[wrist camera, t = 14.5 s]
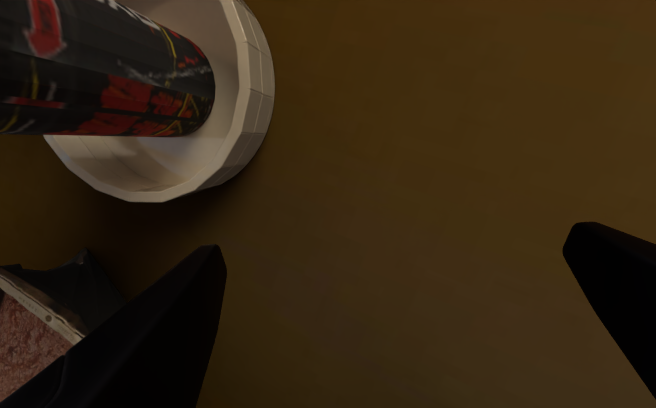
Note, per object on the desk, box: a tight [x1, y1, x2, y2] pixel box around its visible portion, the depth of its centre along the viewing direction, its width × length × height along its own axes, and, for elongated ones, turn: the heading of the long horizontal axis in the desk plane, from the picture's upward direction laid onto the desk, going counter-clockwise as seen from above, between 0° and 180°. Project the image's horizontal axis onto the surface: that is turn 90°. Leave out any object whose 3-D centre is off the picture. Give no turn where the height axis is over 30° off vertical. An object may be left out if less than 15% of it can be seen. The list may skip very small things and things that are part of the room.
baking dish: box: [0, 248, 127, 402], centre depth 20 cm, size 14×18×10 cm
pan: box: [43, 0, 275, 203], centre depth 17 cm, size 13×13×4 cm
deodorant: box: [0, 0, 216, 137], centre depth 11 cm, size 6×6×15 cm
